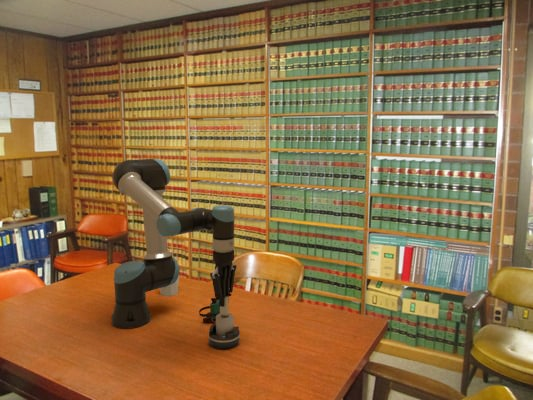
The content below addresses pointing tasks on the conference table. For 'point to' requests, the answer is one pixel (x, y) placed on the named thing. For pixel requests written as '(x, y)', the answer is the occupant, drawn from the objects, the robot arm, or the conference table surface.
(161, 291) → the mug
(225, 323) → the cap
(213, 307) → the binoculars
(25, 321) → the conference table surface
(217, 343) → the black round base
